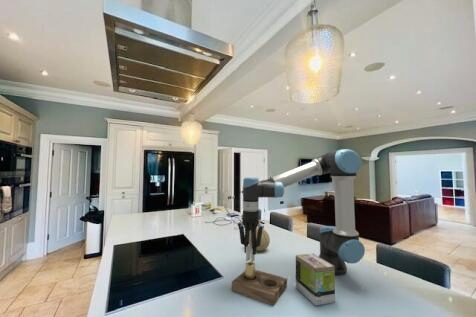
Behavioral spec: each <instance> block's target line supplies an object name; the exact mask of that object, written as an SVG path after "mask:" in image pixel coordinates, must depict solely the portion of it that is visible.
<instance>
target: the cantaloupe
mask: <svg viewBox="0 0 476 317" xmlns="http://www.w3.org/2000/svg"><path fill="white" fill-rule="evenodd" d="M257 233H258V227H257V228H256V240H257ZM270 243H271V240H270V235H269V233H268V232H267V231H266V230H265V228H263V230H262V236H261V243H260V246H259V247H256V252H262V251H265V250H266V249H267V248H268V247H269V246H270ZM249 245H250V248H251V247H252V237H251V231H250V234H249Z"/></svg>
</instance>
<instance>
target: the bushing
mask: <svg viewBox="0 0 476 317" xmlns="http://www.w3.org/2000/svg"><path fill="white" fill-rule="evenodd" d="M255 270H256V263H255V262H254V261H253V262H251V261H246V262H245V271H246V280H255Z"/></svg>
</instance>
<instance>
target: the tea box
mask: <svg viewBox="0 0 476 317" xmlns="http://www.w3.org/2000/svg"><path fill="white" fill-rule="evenodd" d="M335 277H336V276H335V266H334V265H332V264H330V263H329V262H327V261H325V260H323V259H322V258H320V257H319V255H316V254H314V253H306V254H296V255H295V288H297V289H298V290H299V291H300V292H301V293H302V295H304V296H305V297H306V298H307V299H308V300H309V301H311V303H312V304H313V305H314V306H321V305H327V304H332V303H335V301H336V285H335V284H336V281H335V280H336V278H335Z"/></svg>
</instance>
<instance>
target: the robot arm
mask: <svg viewBox="0 0 476 317" xmlns="http://www.w3.org/2000/svg"><path fill="white" fill-rule="evenodd" d="M361 166H362V158H361V157H360V155H359V153H357V152H356V151H354V150H352V149H349V148H346V149H344V148H343V149H338V150H332V151H328V152H326V153H324V154H322V155H319V156H317V157H316V158H312V160H311V161H310V162H307V163H305V164H303V165H301V166H297V167H295V168H293V169H290V170H287V171H285V172H282V173H280V174H277V175H274V176H272V177H269V178H268V179H267V178H266V179H263V180H259V177H244V178H243V179H242V180H243V183H242V209H243V211H242V221H240V222H238V223H237V227H238V230H239V239H240V244H241V245H243V246H244V254H245V261H246V262H249V261H250V262H253V263H254V262H255V258H256V255H257V251H256V247H259V246H260V243H261V236H262V230H263V229H265V226H264V225H261V224H260V222H259V218H260V217H259V215H260V214H259V209H260V208H259V203H260V202H259V200H260V198H272V199H273V198H275V199H277V198H282V197H283V196H284V194H285V188H287V187H290V186H291V185H294V184H296V183H299V182H302V181H304V180H307V179H309V178H312V177H314V176H317V175H318V176H322V175H325V174H329V173H330V178H332V180H333V183H334V184H333V186H334V214H335V216H334V218H335V226H334V225H333V226H332V225H325V226H324V225H323V226H321V227H320V228H319V255H318V257H320V258H322V259H323V260H325V261H327V262H329V263H330V264H332V265H334V266H335V277H336V276H339V277H340V276H345V275H346V274H347V273H348V268H347V265H346V263H347V264H358V263H359V262H360V261H361V260H362V259H363V258H364V256H365V253H366V252H365V251H366V249H365V246H364V244H363V243H362V242H361V241H360V233H359V231H357V230H356V218H355V217H356V216H355V193H354V191H355V190H354V180H355V179H356V178H357V172H358V171H359V170H360V169H361ZM256 228H258V233H257V240H256ZM250 232H251V237H252V247H250V245H249V234H250Z"/></svg>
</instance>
